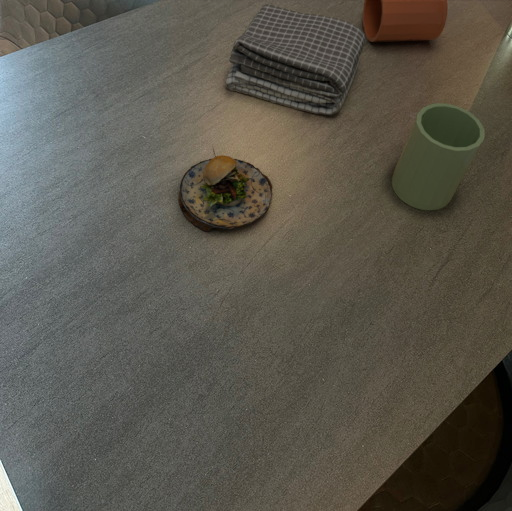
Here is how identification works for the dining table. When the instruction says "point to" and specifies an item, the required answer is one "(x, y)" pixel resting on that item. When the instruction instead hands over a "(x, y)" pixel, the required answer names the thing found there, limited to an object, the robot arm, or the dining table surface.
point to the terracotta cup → (404, 19)
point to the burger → (224, 193)
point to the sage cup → (436, 155)
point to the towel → (296, 59)
